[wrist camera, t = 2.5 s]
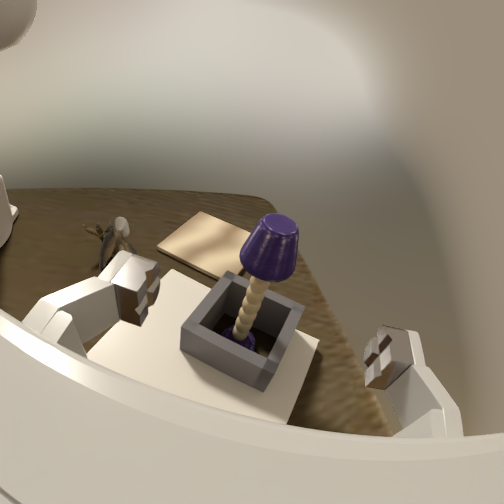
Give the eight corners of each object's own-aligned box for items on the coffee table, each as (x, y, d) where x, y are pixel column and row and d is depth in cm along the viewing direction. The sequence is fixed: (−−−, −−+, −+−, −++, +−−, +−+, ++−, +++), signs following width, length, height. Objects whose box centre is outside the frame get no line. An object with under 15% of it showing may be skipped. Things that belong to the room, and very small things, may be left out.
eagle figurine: (71, 251, 36) (88, 284, 31) (90, 203, 35) (110, 228, 30) (116, 263, 42) (140, 295, 37) (135, 220, 42) (163, 245, 36)
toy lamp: (265, 341, 34) (315, 221, 24) (248, 371, 30) (299, 250, 20) (228, 323, 35) (261, 198, 25) (208, 351, 31) (236, 221, 21)
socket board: (78, 373, 25) (64, 344, 22) (171, 277, 39) (173, 244, 35) (257, 480, 21) (274, 471, 18) (314, 346, 35) (332, 318, 31)
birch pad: (156, 249, 42) (156, 245, 42) (199, 214, 51) (200, 211, 51) (230, 285, 40) (230, 282, 39) (263, 242, 49) (264, 239, 49)
